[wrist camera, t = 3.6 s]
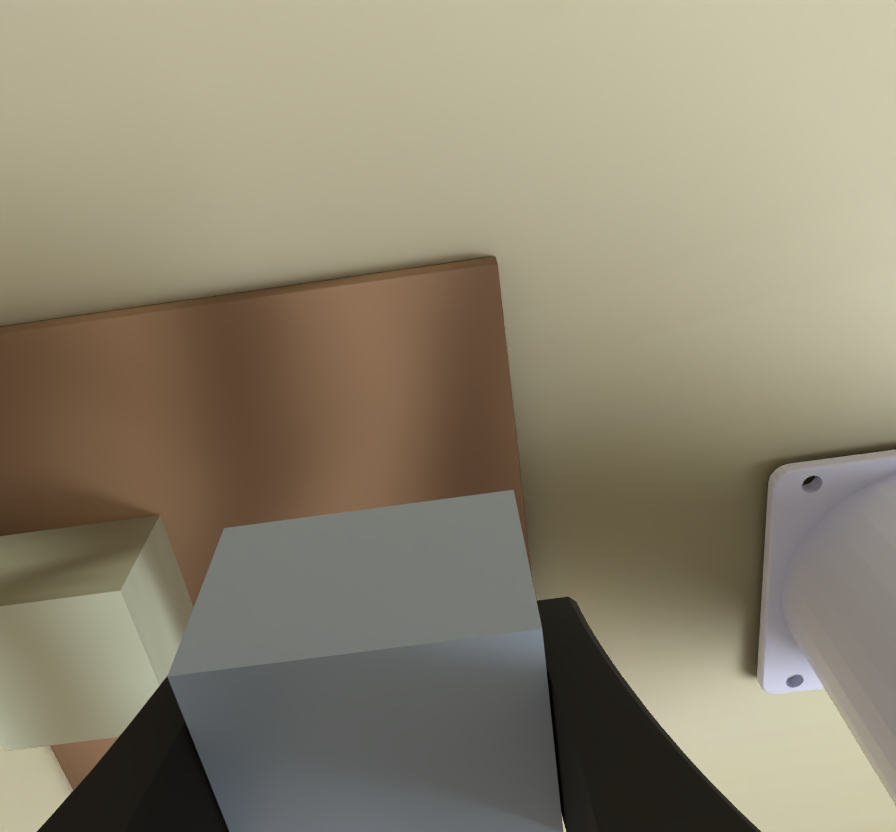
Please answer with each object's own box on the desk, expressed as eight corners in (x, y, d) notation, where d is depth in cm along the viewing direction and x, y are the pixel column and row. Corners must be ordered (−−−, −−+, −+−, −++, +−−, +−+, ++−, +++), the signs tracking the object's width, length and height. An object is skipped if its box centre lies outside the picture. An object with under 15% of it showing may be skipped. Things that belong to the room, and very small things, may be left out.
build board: (495, 256, 18) (511, 307, 15) (548, 741, 25) (567, 846, 22) (-137, 346, 18) (-255, 414, 15) (93, 797, 26) (46, 908, 22)
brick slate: (513, 490, 12) (541, 629, 9) (537, 702, 14) (566, 867, 11) (223, 528, 12) (166, 676, 9) (289, 732, 14) (258, 903, 11)
